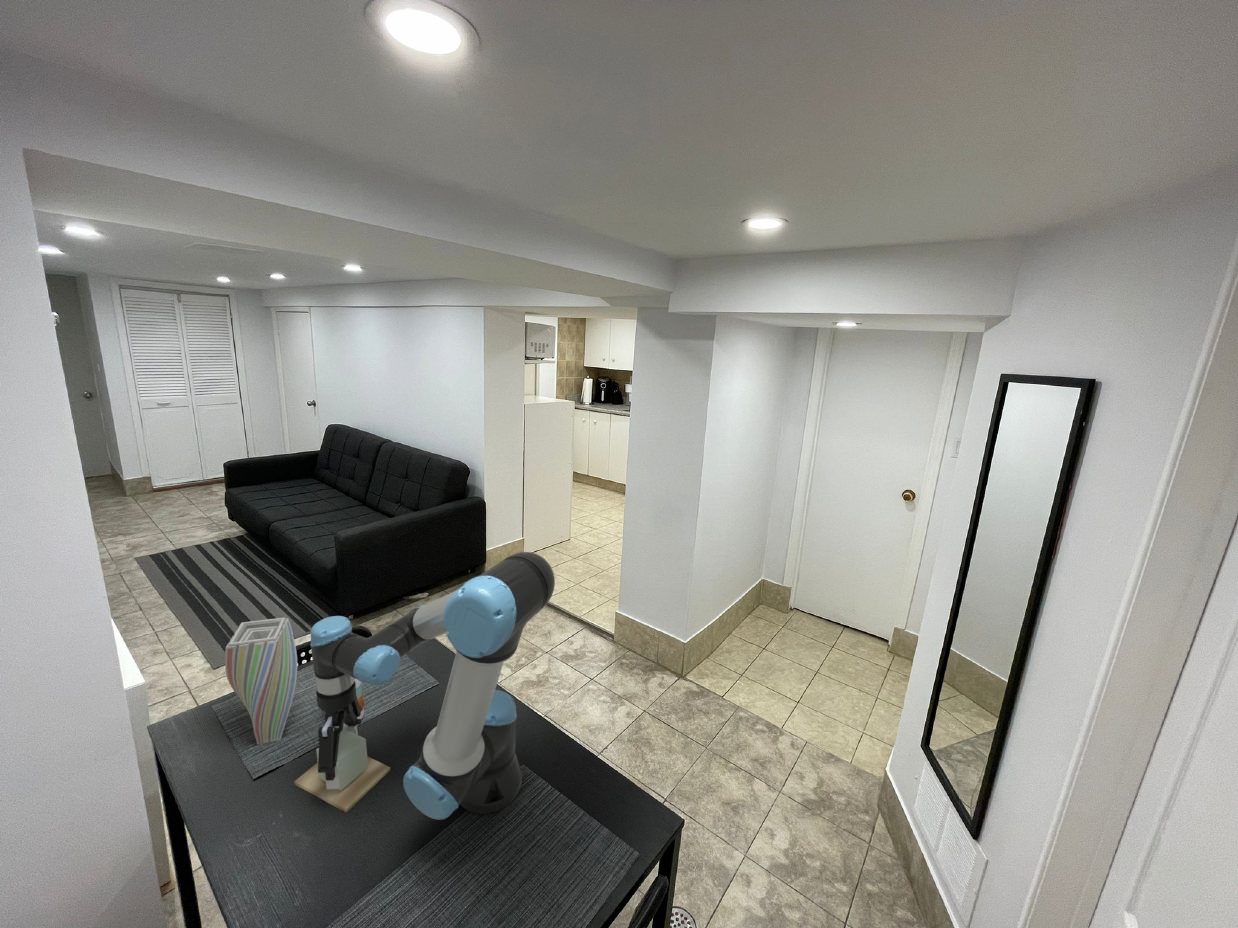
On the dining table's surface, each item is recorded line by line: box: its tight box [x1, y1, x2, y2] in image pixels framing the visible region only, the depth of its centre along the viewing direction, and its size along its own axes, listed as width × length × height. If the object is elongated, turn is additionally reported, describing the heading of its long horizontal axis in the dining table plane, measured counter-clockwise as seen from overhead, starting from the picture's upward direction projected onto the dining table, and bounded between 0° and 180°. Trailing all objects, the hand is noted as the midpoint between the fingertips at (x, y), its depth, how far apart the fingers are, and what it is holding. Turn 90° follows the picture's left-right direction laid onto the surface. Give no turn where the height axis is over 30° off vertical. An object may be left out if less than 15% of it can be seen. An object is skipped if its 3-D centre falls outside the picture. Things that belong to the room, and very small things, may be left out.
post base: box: [293, 755, 391, 814], centre depth 114 cm, size 16×12×6 cm
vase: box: [224, 617, 298, 745], centre depth 121 cm, size 14×14×30 cm
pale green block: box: [315, 728, 368, 790], centre depth 113 cm, size 7×7×8 cm
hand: (343, 767), depth 114 cm, fingers closed on pale green block, 10 cm apart
